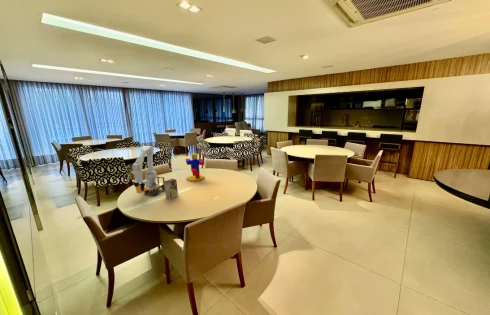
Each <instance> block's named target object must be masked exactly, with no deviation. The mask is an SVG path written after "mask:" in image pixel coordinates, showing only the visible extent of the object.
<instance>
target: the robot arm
mask: <svg viewBox="0 0 490 315" xmlns="http://www.w3.org/2000/svg"><path fill="white" fill-rule="evenodd" d="M140 151H141V153H140V155H139V156H138V157H137V159H136V160H135V161H134V163H133V164H132V165H131V166H132V167H131V169H132V171H133V174H134V179H132V180H131V181H132V182H131V183H132V185H133V186H134V187H135V188H136V187H137V186H140V187H141V190H142V191H144V187H149V186H151V185H153V183H157V182H156V180H157V177H158V175H157V171H155V170H154V162H153V161H154V159H153V158H154V157H153V155H154V153H155V152H154V151H155V149H154V147H153V145H151V146H150V145H149V146H148V145H147V146H145V145H142V146H141V148H140ZM145 157H146V158H147V159H146V160H147V161H146V162H147V171H146V172H145V173H144V174H145V175H144V178H145V180H144V179H143V173H142V169H143V163H144V162H145Z"/></svg>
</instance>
